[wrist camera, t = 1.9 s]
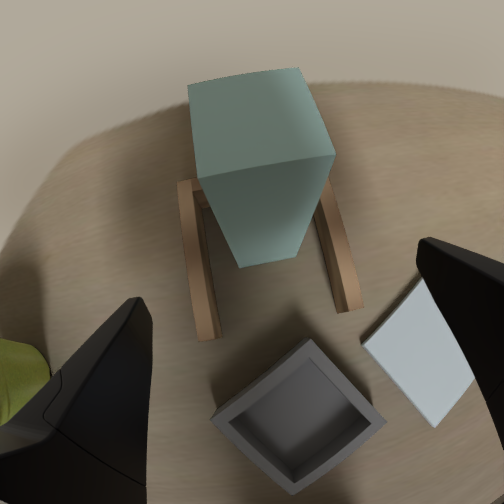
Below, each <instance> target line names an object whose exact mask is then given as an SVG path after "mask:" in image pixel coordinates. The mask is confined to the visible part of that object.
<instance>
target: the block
mask: <svg viewBox="0 0 504 504" xmlns="http://www.w3.org/2000/svg"><path fill="white" fill-rule="evenodd" d="M188 95H189V106H190V116H191V126H192V135H193V144H194V152H195V161H196V169H197V177H198V180H199V183H200V185H201V187H202V189H203V191H204V193H205V196H206V198H207V200H208V202H209V204H210V206H211V209H212V211H213V213H214V215H215V217H216V219H217V222H218V224H219V226H220V228H221V230H222V232H223V234H224V236H225V239H226V241H227V243H228V245H229V247H230V249H231V251H232V253H233V256H234V258H235V260H236V262H237V264H238V266H239V268H243V267H248V266H253V265H258V264H263V263H268V262H273V261H278V260H283V259H288V258H293V257H296V255H297V253H298V250H299V248H300V245H301V243H302V241H303V238H304V236H305V233H306V231H307V228H308V226H309V223H310V221H311V218H312V216H313V213H314V211H315V208H316V206H317V203H318V201H319V198H320V196H321V193H322V191H323V188H324V185H325V183H326V180H327V178H328V175H329V172H330V170H331V167H332V164H333V162H334V159H335V156H336V152H335V150H334V147H333V144H332V142H331V139H330V137H329V134H328V132H327V129H326V127H325V125H324V122H323V120H322V117H321V115H320V113H319V110H318V108H317V106H316V104H315V101H314V99H313V97H312V95H311V93H310V90H309V88H308V86H307V84H306V82H305V80H304V78H303V76H302V73H301V71H300V69H299V68H287V69H277V70H269V71H261V72H254V73H247V74H241V75H235V76H229V77H224V78H219V79H214V80H209V81H204V82H200V83H195V84H191V85H188Z"/></svg>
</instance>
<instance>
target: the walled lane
mask: <svg viewBox="0 0 504 504" xmlns="http://www.w3.org/2000/svg"><path fill="white" fill-rule="evenodd" d="M177 192H178V202H179V211H180V220H181V229H182V237H183V245H184V253H185V260H186V267H187V274H188V281H189V288H190V294H191V301H192V307H193V313H194V319H195V324H196V330H197V336H198V341H199V342H202V341H208V340H214V339H218V338H222V337H223V336H222V331H221V325H220V320H219V314H218V309H217V303H216V298H215V292H214V286H213V280H212V274H211V268H210V262H209V255H208V249H207V242H206V236H205V229H204V222H203V215H202V208H207V207H211V206H210V204H209V202H208V200H207V198H206V196H205V193H204V191H203V189H202V187H201V185H200V183H199V180H198V177H195V178H191V179H187V180H183V181H178V182H177ZM313 215H314V219H315V223H316V227H317V230H318V234H319V238H320V242H321V246H322V250H323V254H324V258H325V262H326V266H327V270H328V274H329V278H330V283H331V287H332V291H333V296H334V300H335V305H336V310H337V313H343V312H349V311H353V310H356V309H360V308H364V304H363V300H362V295H361V291H360V286H359V282H358V278H357V274H356V270H355V266H354V262H353V258H352V254H351V250H350V247H349V243H348V239H347V236H346V232H345V229H344V225H343V222H342V218H341V215H340V212H339V208H338V205H337V202H336V199H335V196H334V192H333V189H332V186H331V183H330V180H329V177H328V178H327V180H326V183H325V185H324V188H323V191H322V193H321V196H320V198H319V201H318V203H317V206H316V208H315V211H314V213H313Z"/></svg>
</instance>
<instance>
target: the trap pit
mask: <svg viewBox="0 0 504 504" xmlns="http://www.w3.org/2000/svg"><path fill="white" fill-rule="evenodd" d="M210 421H211V422H212V423H213V424H214V425H215V426H216V427H217V428H218V429H219V430H220V431H221V432H222V433H223V434H224V435H225V436H226V437H227V438H228V439H229V440H230V441H231V442H232V443H233V444H234V445H235V446H236V447H237V448H238V449H239V450H240V451H241V452H242V453H243V454H244V455H245V456H246V457H248V458H249V459H250V460H251V461H252V462H253V463H254V464H255V465H256V466H257V467H258V468H260V469H261V470H262V471H263V472H264V473H265V474H266V475H268V476H269V477H270V478H271V479H272V480H273V481H275V482H276V483H277V484H278V485H279V486H281V487H282V488H283V489H284V490H285V491H287V492H288V493H289V494H290V495H292V496H293V495H295V494H296V493H298V492H299V491H301V490H302V489H304V488H306V487H307V486H309V485H310V484H311V483H313V482H314V481H316V480H317V479H319V478H320V477H322V476H323V475H324V474H326V473H327V472H328V471H330V470H331V469H332V468H334V467H335V466H336V465H338V464H339V463H340V462H342V461H343V460H344V459H345V458H347V457H348V456H349V455H350V454H352V453H353V452H354V451H355V450H356V449H358V448H359V447H360V446H361V445H362V444H364V443H365V442H366V441H367V440H368V439H369V438H370V437H372V436H373V435H374V434H375V433H376V432H377V431H378V430H379V429H380V428H381V427H382V426H383V425H385V424H386V423H387V421H386V420H385V419H384V418H383V417H382V416H381V415H380V414H379V413H378V412H377V410H376V409H375V408H374V407H373V406H372V405H371V404H370V403H369V402H368V401H367V400H366V399H365V398H364V396H363V395H362V394H361V393H360V392H359V391H358V390H357V389H356V388H355V387H354V386H353V384H352V383H351V382H350V381H349V380H348V379H347V378H346V377H345V376H344V375H343V374H342V373H341V371H340V370H339V369H338V368H337V367H336V366H335V365H334V364H333V363H332V362H331V360H330V359H329V358H328V357H327V356H326V355H325V354H324V353H323V352H322V351H321V349H320V348H319V347H318V346H317V345H316V344H315V343H314V342H313V341H312V340H311V339H310V338H307V337H305V338H304V339H303V340H301V341H300V342H299V343H298V344H297V345H296V346H295V347H293V348H292V349H291V350H290V351H289V352H288V353H287V354H285V355H284V356H283V357H282V358H281V359H280V360H278V361H277V362H276V363H275V364H274V365H272V366H271V367H270V368H269V369H268V370H266V371H265V372H264V373H263V374H262V375H260V376H259V377H258V378H257V379H255V380H254V381H253V382H252V383H250V384H249V385H248V386H247V387H245V388H244V389H243V390H242V391H240V392H239V393H238V394H236V395H235V396H234V397H232V398H231V399H230V400H229V401H227V402H226V403H225V404H223V405H222V406H221V407H219V408H218V409H217V410H216V411H215V413H214V414H213V416H212V418H211V419H210Z"/></svg>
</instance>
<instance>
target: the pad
mask: <svg viewBox="0 0 504 504" xmlns="http://www.w3.org/2000/svg"><path fill="white" fill-rule="evenodd" d="M361 345H362V346H363V348H364V349H365V350H366V351H367V352H368V353H369V354H370V356H371V357H372V358H373V359H374V360H375V361H376V362H377V364H378V365H379V366H380V367H381V368H382V369H383V370H384V372H385V373H386V374H387V375H388V376H389V377H390V378H391V380H392V381H393V382H394V383H395V384H396V385H397V387H398V388H399V389H400V390H401V391H402V392H403V394H404V395H405V396H406V397H407V398H408V399H409V401H410V402H411V403H412V404H413V405H414V406H415V408H416V409H417V410H418V411H419V412H420V413H421V415H422V416H423V417H424V418H425V419H426V421H427V422H428V423H429V424H430V425H431V426H432V427H434V428H435V427H436V426H437V425H438V423H439V422H440V421H441V420H442V419H443V418H444V417H445V415H446V414H447V413H448V412H449V411H450V409H451V408H452V407H453V406H454V405H455V403H456V402H457V401H458V400H459V398H460V397H461V396H462V394H463V393H464V392H465V390H466V389H467V388H468V386H469V385H470V384H471V382H472V381H473V380H474V378H475V377H474V375H473V372H472V370H471V368H470V366H469V364H468V362H467V360H466V358H465V356H464V354H463V352H462V350H461V348H460V346H459V345H458V343H457V341H456V339H455V337H454V335H453V333H452V332H451V330H450V328H449V326H448V324H447V323H446V321H445V319H444V317H443V316H442V314H441V312H440V311H439V309H438V307H437V305H436V304H435V302H434V300H433V298H432V296H431V294H430V292H429V290H428V288H427V286H426V284H425V282H424V280H423V278H422V277H421V278H420V280H419V281H418V282H417V283H416V285H415V286H414V287H413V288H412V289H411V291H410V292H409V293H408V294H407V295H406V296H405V298H404V299H403V300H402V301H401V302H400V303H399V305H398V306H397V307H396V308H395V309H394V310H393V311H392V313H391V314H390V315H389V316H388V317H387V318H386V319H385V320H384V321H383V322H382V323H381V325H380V326H379V327H378V328H377V329H376V330H375V331H374V332H373V333H372V334H371V335H370V336H369V337H368V338H367V339H366V340H365V341H364V342H363V343H362V344H361Z"/></svg>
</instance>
